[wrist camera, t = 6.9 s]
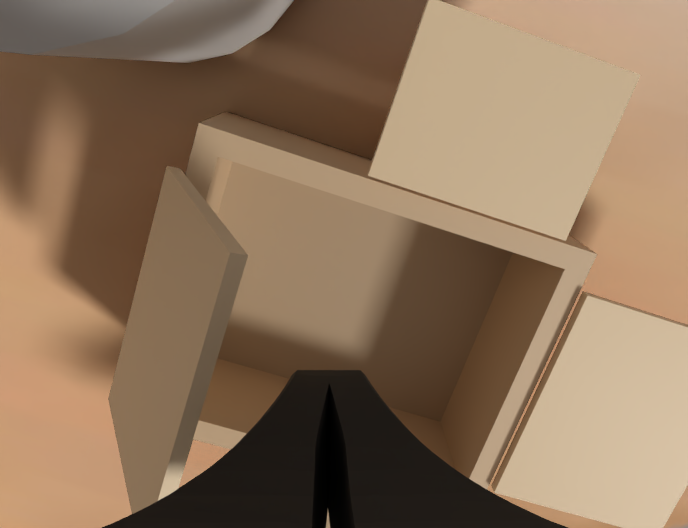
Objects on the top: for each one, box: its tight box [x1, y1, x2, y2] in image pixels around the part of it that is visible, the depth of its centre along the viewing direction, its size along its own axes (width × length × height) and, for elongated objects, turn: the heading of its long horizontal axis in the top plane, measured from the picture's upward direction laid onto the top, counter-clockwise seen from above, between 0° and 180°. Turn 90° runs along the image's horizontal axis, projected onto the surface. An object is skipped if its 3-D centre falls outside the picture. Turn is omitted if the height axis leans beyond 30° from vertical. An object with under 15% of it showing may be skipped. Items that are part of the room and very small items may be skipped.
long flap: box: [108, 166, 248, 514], centre depth 12 cm, size 5×6×1 cm
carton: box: [185, 0, 688, 528], centre depth 17 cm, size 15×12×4 cm
